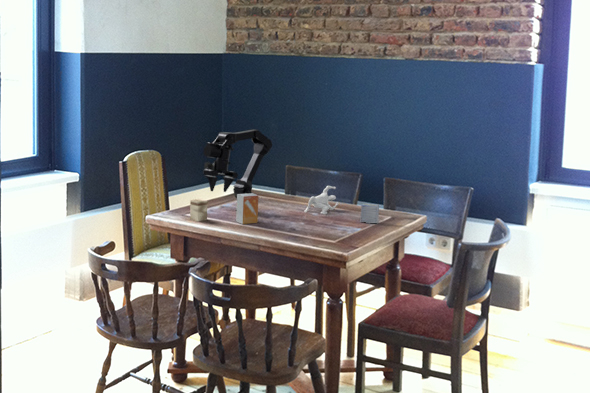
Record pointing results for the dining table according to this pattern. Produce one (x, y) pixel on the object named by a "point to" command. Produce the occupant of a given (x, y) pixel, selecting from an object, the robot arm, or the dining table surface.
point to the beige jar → (198, 209)
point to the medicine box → (369, 213)
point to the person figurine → (322, 201)
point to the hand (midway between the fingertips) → (218, 191)
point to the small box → (247, 208)
